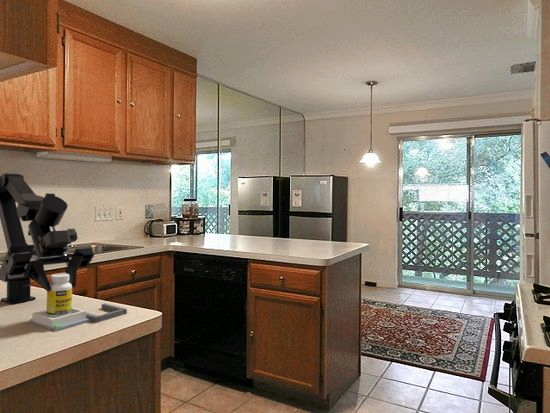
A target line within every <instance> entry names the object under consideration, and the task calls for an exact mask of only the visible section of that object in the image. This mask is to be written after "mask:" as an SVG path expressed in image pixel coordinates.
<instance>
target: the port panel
mask: <svg viewBox="0 0 550 413" xmlns="http://www.w3.org/2000/svg"><path fill="white" fill-rule="evenodd" d="M46 311H47V309H45V310H40V311H37V312H36V311H35V312H32V313H31V314H32V316H31V317H32V318H30V319H29V320H28V322H29V323H31V324H34V325H37V326H39V327H42V328H45V329H48V330H50V331H54V332H58V331H61V330H64V329H65V330H66V329H68V328H71V327H75V326H79V325H82V324H86V323H88V322H90V320H89V319H87V318H86V313H87V310H84V309H80V308H77V307H74V306H72V310H71V314H68V315H65V316H61V317H57V318H53V317H49V316H47V314H46Z"/></svg>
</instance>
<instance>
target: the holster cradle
mask: <svg viewBox="0 0 550 413" xmlns="http://www.w3.org/2000/svg"><path fill="white" fill-rule="evenodd" d="M101 309H102V310H107V311H108V312H107V313H103V314H99V315H97V314H96V315H95V314H92V313H89V312H86V318H87V319H89V322H90V321H91V322H93V323H100V322H102V321H106V320H110V319H112V318H117V317H119V316H123V315H127V313H128V310H127V308H124V307H120V306H116V305H112V304H109V303H102V304H101Z"/></svg>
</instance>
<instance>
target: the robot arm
mask: <svg viewBox="0 0 550 413" xmlns="http://www.w3.org/2000/svg"><path fill="white" fill-rule="evenodd" d="M67 209H68V204H67V202H66V201H65V200H64V199H62V198H61V197H58V196H56V194H55V193H45V194H44V196H41V195H37V194H36V193H35V192H34V190H32V188H31V187H30V186H29V184H28V182H26V181H25V177H24V175H23V174H20V173H11V172H7V173H6V172H5V173H2V174H0V224H1V228H2V231H3V236H4V240H5V244H6V248H7V251H6V253H5V255H4V256H3V259H2V264H1V265H0V281H1V282H3V283H6V297H2V298H0V301H2V302H4V303H9V304H11V305H13V304H17V303H23V302H28V301H33V300H36V299H37V298H36V296H32V295H31V280H32V281H33V282H36V284H38V285H39V286H40V287H41V288H43V290H45V291H46V292H47V291H48V292H50V290H51V287H50V284H51V283H50V280H49V279H48V275H47V274H46V271H45V266H50V265H59V264H65V265H66V268H65V271H64V272H65V274H69V281H68V282H69V283H71V284H72V289H75V288H76V285H77V276H78V274H77V273H78V270H79V269H81V268H82V269H83V268H87V267H89V266H90V264H91V262H92V260H93V258H94V257H95V255H96V254H95V252H94V249H93V248H92V247H90V246H88V247H77V248H75V250H74V252H73V253H71V254H65V252H67V251H68V245H70V244H72V243H75V242H76V241H78V232H77V231H76V228H68V229H67V230H57V229H56V226H58V225H60V222H61V220H62V219H63V218H64V215H65V213H66V211H67ZM22 222H29V224H28V226H27V228H28V231H27V236H31V237H30V238H31V241H32V243H33V244H28V243H27V240H26V237H25V233H24V230H23V226H22Z"/></svg>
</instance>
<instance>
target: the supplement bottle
mask: <svg viewBox="0 0 550 413" xmlns="http://www.w3.org/2000/svg"><path fill="white" fill-rule="evenodd" d="M50 282H51V283H50V287H51V290H50V292H48V291H46V310H47V311H46V314H47V316H49V317H53V318H57V317H61V316H65V315H68V314H71V310H72V307H73V306H72V305H73V303H72V302H73V287H72V284H71V283H70V282H69V274H66V272H65V273H61V272H59V273H54V274H51V275H50Z"/></svg>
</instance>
